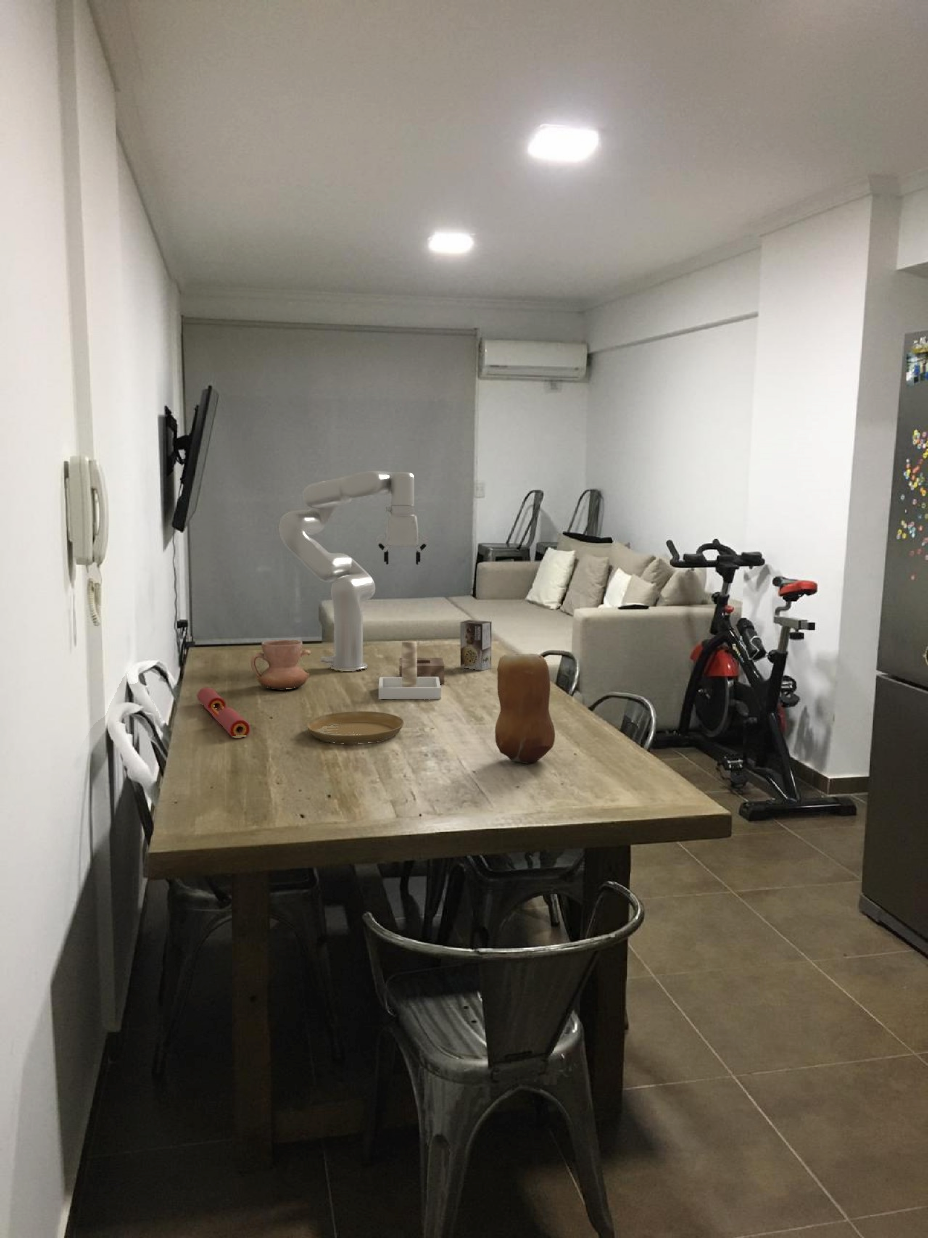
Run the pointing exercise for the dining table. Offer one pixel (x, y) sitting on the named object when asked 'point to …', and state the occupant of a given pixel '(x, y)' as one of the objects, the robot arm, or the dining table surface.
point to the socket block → (428, 668)
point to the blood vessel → (223, 712)
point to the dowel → (409, 664)
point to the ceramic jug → (281, 664)
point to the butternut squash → (524, 708)
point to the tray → (409, 688)
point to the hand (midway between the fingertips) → (402, 564)
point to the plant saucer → (356, 726)
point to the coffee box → (475, 644)
